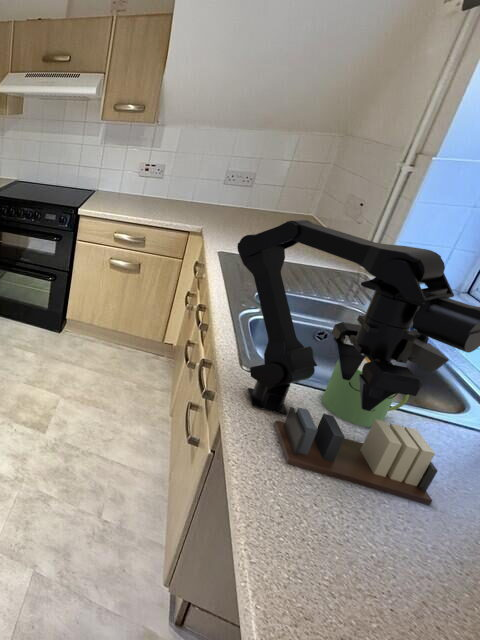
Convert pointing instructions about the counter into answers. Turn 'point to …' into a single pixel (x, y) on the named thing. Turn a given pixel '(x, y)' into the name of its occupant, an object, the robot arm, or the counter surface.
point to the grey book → (306, 429)
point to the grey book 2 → (329, 437)
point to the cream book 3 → (418, 458)
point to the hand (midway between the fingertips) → (355, 393)
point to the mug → (354, 399)
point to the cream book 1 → (380, 447)
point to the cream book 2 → (402, 454)
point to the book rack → (346, 463)
